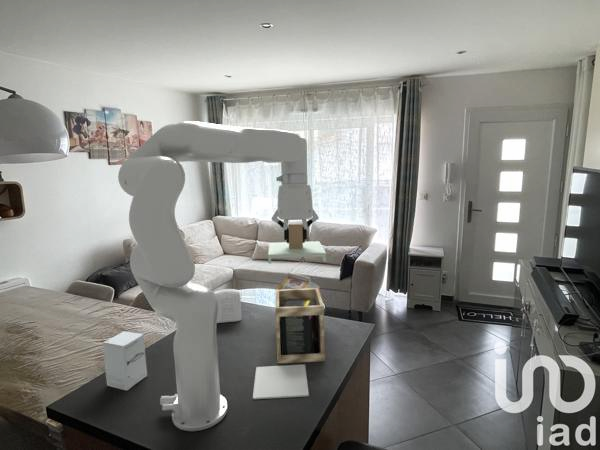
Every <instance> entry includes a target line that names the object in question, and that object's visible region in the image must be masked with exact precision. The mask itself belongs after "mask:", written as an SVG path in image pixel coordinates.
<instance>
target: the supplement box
mask: <svg viewBox="0 0 600 450" xmlns="http://www.w3.org/2000/svg"><path fill="white" fill-rule="evenodd" d="M102 351H103V360H104V368H105V378H106V386H108V387H111V388H115V389H119V390H121V391H122V390H123V391H129V390H130V389H131V388H133V387H134V386H135V385H136V384H138V383H139V382H140V381H142V380H144V379H145V378H146V377H147V376H148V370H147V368H148V367H147V357H146V349H145V338H144V334H143V333H137V332H133V331H132V332H130V331H122V332H120V333H118V334H117V335H115V336H112V337H111V338H108V339H107V340H105V341H104V342H102Z"/></svg>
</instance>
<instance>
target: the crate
mask: <svg viewBox="0 0 600 450" xmlns="http://www.w3.org/2000/svg"><path fill="white" fill-rule="evenodd" d="M288 299H297V300H315V302H316V303H315V306H292V307H284V305H285V304H286V302H287V301H288ZM274 311H275V328H276V329H275V331H276V334H275V335H276V355H277V356H276V358H277V361H276V363H277V364H293V363H294V364H296V363H312V362H325V359H326V358H325V356H326V354H325V305H324V302H323V298H322V295H321V291H320V292H319V289H318V288H308V289H284V290H278V289H276V290H275V310H274ZM306 315H316V344H317V345H318V353H315V352H314V353H313V354H295V355H282V337H281V317H283V316H306Z"/></svg>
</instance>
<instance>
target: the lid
mask: <svg viewBox="0 0 600 450" xmlns="http://www.w3.org/2000/svg"><path fill="white" fill-rule="evenodd" d="M302 226H303V223H302V222H301V223H299V222H295V223H292V222H291V223H289V222H288V229H289V243H287V241H281V242H269V245H268V254H267V258H268V259H267V260H268V264H272V259H288V258H289V259H290V258H319V257H320V258H321V259H322V261H323V262H324V263H326V262H327V252H326V250H325V249H324V246H323V245H322V244H321V242H320V240H317V241H314V240H313V241H312V240H311V241H305V243H303V227H302Z"/></svg>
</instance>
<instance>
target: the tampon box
mask: <svg viewBox="0 0 600 450" xmlns="http://www.w3.org/2000/svg"><path fill="white" fill-rule="evenodd" d="M315 303H316V302H315V300H297V299H288V301H287V302H286V304H285V305H284V307H292V306H315ZM281 337H282V339H281V355H295V354H314V351H315V348H316V344H317V338H316V315H306V316H283V317H281Z"/></svg>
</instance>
